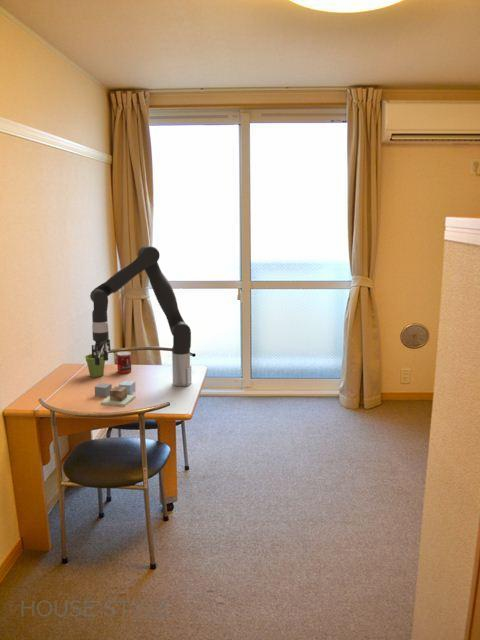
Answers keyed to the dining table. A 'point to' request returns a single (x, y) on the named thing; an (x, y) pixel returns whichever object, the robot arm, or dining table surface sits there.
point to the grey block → (103, 389)
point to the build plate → (121, 403)
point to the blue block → (128, 386)
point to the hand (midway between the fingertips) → (101, 362)
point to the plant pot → (95, 366)
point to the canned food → (124, 362)
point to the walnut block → (118, 393)
